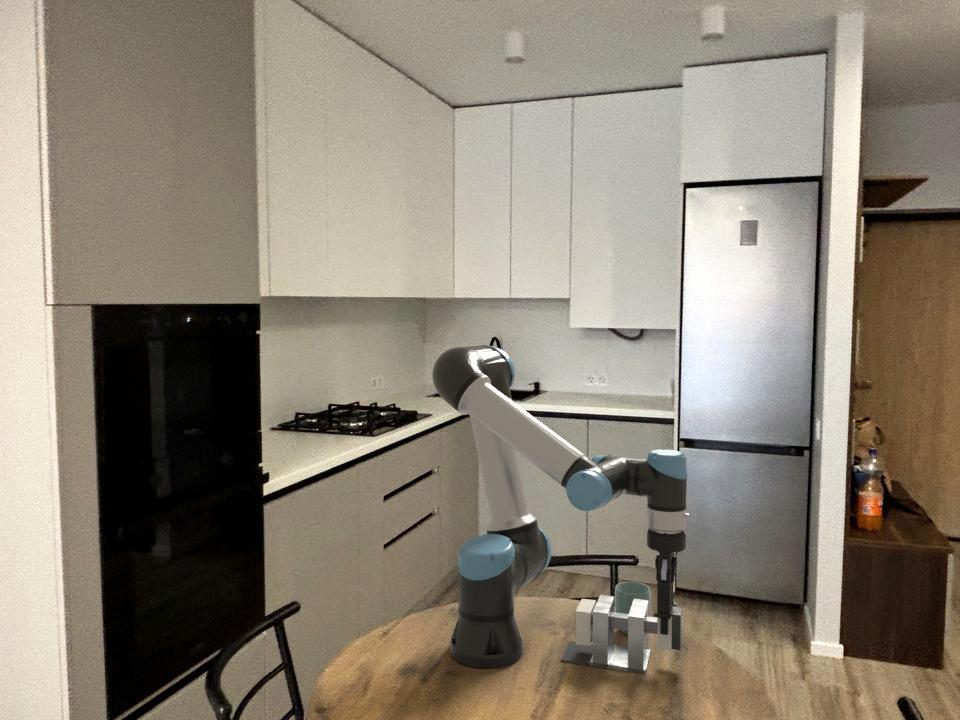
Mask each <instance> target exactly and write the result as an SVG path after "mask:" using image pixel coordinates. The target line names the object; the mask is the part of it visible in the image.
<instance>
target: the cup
mask: <svg viewBox="0 0 960 720" xmlns="http://www.w3.org/2000/svg"><path fill="white" fill-rule="evenodd" d="M614 588H615V589H614V612H615V613H623V614H629V612H630V609H631V606H632V603H633V600H634V599H641V600H648V617H651V605H652V604H651V603H652V601H651V600H652V599H651V597H652V595H651V588H650V586H649V585H647V584H646V583H642V582H637V581H622V582H618V583H617V584H616V585H615V587H614ZM619 630H620V631H621V632H622V633H623V634H625V635H628V630H621V629H619Z"/></svg>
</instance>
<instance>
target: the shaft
mask: <svg viewBox="0 0 960 720" xmlns="http://www.w3.org/2000/svg"><path fill="white" fill-rule="evenodd" d="M682 609H683V608H682V607H678V606H671V614H672V649H671V650H675V651H681V648H682V627H683V626H682V624H683V623H682V622H683V621H682V618H683V617H682V612H683V610H682ZM574 615H575V617H574V620H575V621H574V622H575V625H576V611H575V613H574ZM628 616H629V614H623V613H615V611H614V612H611V614H610V628H613V629H614V630H620V629H621V630H628ZM657 618H658V617H654V616H650V617H648V616H646V619H645V633H648V634H654V635H657ZM591 626H593V614H592V616H591ZM621 630H620V631H621Z"/></svg>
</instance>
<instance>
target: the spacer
mask: <svg viewBox="0 0 960 720" xmlns="http://www.w3.org/2000/svg"><path fill="white" fill-rule="evenodd" d="M596 603H597V600H596V599H587V598H581V600H580V602H579V604H578V605H577V607H576V609H575V612H576V624H575V642H576V644H578V645H585V646H591V644H593V626H591V616H592V614H593V610H594V608H595V606H596Z"/></svg>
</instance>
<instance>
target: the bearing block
mask: <svg viewBox="0 0 960 720" xmlns="http://www.w3.org/2000/svg"><path fill="white" fill-rule="evenodd" d="M611 612H615V595H614V596H613V595H606V594H605V595H604V594H600V595H599V597H598V599H597V600H596V606H595V608H594V610H593V641H592V644H593V656H592V659H591V661H590V665H589V666H590V667H593V668H600V669H601V668H602V669H609V670H614V671H615V670H616V671H622V672H627V673H628V672H630V673H636V674H637V673H638V674H641V675H642V674H643V675H647V672H648V666H649V663H650V657H651V649H649V633H645V619H646V616H648V600H641V599H634V600H633V603H632V606H631V609H630V612H629V616H628V634H627V636H628V637H627V646H626V645H621V644H615V629H613V628H610V614H611Z"/></svg>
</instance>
